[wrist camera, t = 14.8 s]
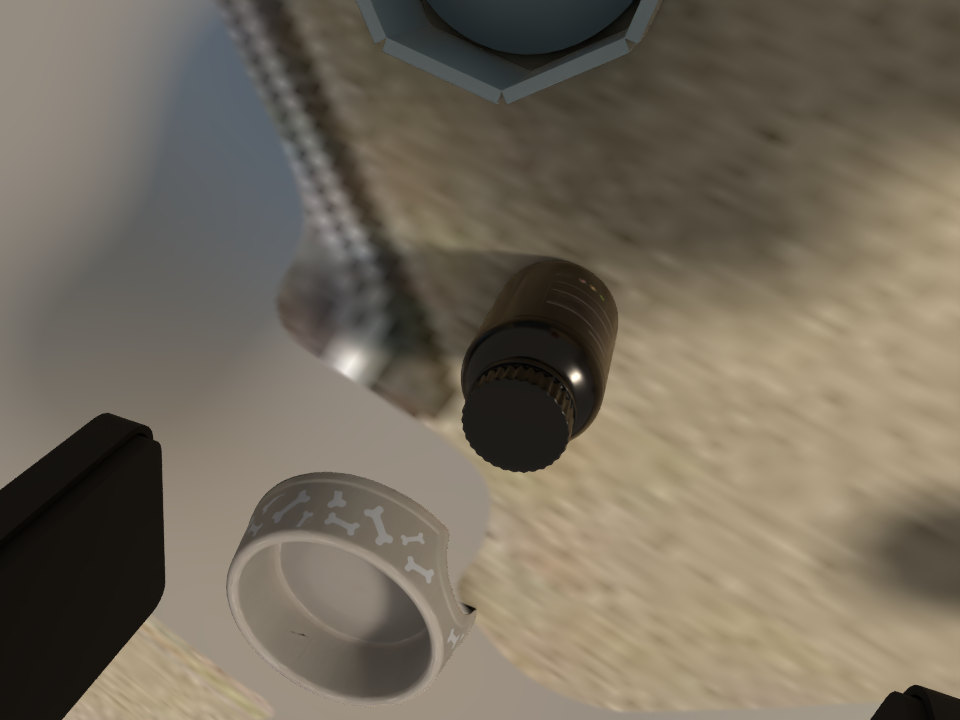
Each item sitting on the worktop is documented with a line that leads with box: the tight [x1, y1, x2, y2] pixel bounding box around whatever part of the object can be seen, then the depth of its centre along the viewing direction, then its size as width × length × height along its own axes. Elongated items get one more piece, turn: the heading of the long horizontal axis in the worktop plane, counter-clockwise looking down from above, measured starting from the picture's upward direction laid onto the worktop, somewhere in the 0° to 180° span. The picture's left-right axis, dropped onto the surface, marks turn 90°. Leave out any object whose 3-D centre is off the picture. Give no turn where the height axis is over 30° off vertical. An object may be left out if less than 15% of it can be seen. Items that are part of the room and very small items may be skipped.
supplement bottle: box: [461, 261, 618, 473], centre depth 38 cm, size 7×7×12 cm
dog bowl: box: [226, 472, 477, 707], centre depth 55 cm, size 17×18×5 cm
